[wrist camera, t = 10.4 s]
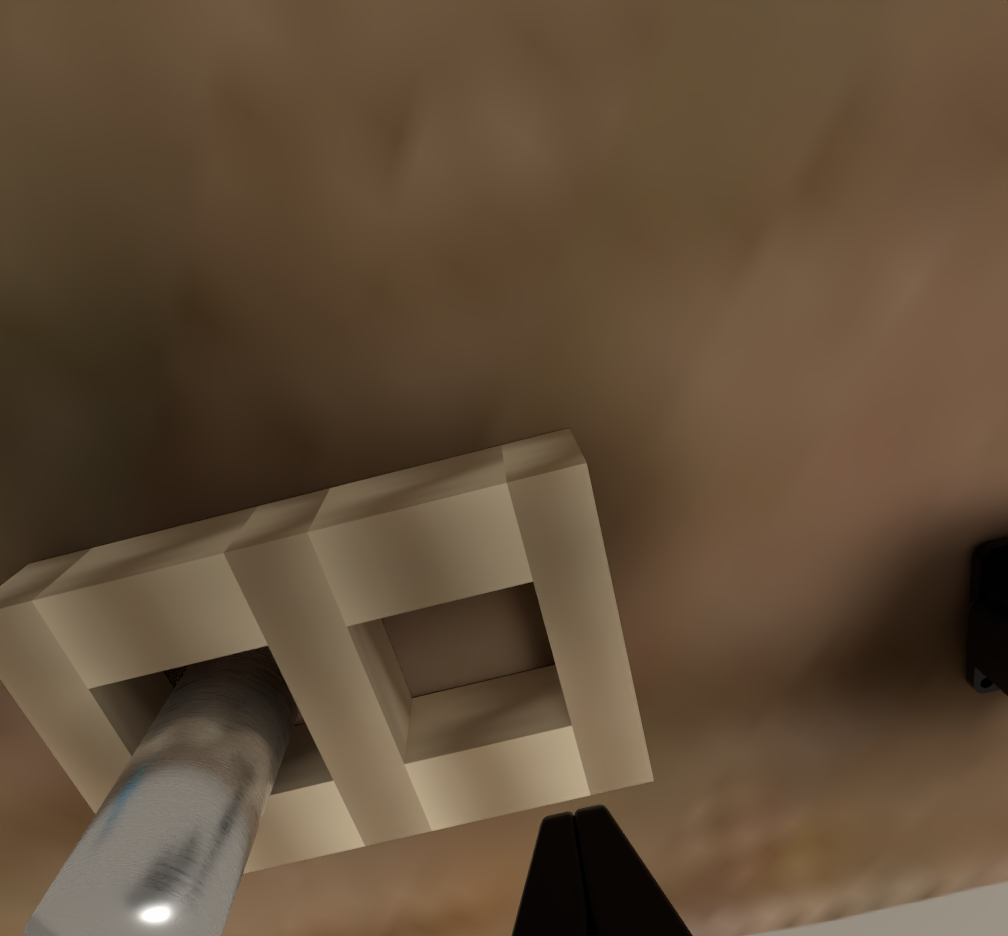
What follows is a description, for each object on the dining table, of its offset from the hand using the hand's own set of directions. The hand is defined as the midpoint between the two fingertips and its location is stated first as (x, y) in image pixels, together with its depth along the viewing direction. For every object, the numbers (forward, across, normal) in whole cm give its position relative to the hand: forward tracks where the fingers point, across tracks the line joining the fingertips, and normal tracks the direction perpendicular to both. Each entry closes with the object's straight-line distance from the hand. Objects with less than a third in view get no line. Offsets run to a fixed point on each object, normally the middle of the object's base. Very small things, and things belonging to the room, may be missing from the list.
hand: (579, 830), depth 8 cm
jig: (+12, +7, +5) cm, 15 cm away
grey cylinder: (+12, +11, +5) cm, 17 cm away
